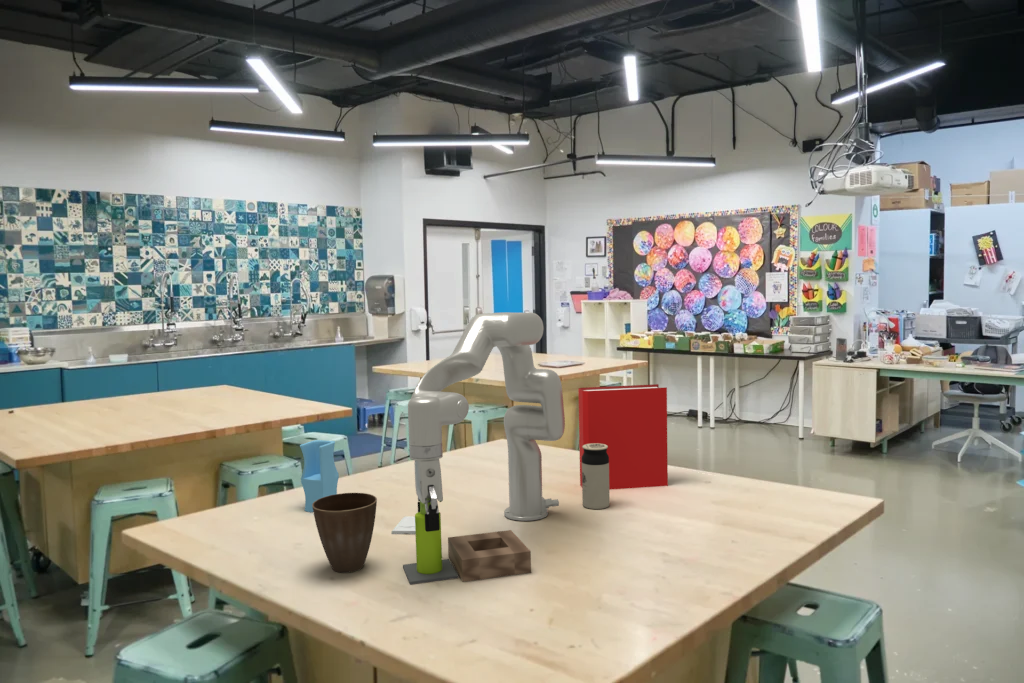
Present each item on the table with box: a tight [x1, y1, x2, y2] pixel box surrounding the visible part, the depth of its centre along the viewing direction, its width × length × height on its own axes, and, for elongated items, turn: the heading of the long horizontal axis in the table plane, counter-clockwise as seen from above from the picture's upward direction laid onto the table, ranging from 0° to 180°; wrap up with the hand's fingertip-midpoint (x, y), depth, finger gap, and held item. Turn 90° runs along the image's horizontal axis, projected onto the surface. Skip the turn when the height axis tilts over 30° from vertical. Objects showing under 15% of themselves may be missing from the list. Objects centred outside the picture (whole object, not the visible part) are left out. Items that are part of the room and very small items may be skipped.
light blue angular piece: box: [299, 439, 340, 513], centre depth 228 cm, size 8×8×20 cm
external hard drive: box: [391, 515, 416, 536], centre depth 209 cm, size 2×8×12 cm
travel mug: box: [581, 443, 611, 510], centre depth 224 cm, size 8×8×18 cm
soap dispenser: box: [414, 499, 443, 574], centre depth 176 cm, size 6×7×20 cm
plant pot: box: [312, 492, 378, 574], centre depth 180 cm, size 15×15×16 cm
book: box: [578, 383, 669, 491], centre depth 246 cm, size 27×8×32 cm, turn 98°
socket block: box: [447, 529, 532, 582], centre depth 179 cm, size 16×16×5 cm
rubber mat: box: [402, 558, 459, 585], centre depth 176 cm, size 11×11×1 cm
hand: (428, 524), depth 175 cm, fingers open, 9 cm apart
